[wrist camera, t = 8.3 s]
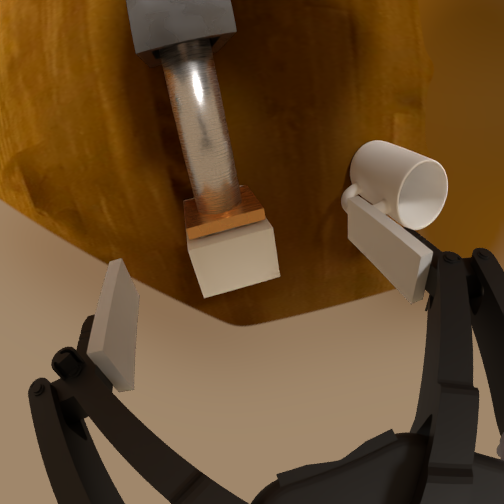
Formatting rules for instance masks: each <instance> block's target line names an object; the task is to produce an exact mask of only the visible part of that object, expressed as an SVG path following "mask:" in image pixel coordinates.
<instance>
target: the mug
mask: <svg viewBox="0 0 504 504" xmlns="http://www.w3.org/2000/svg"><path fill="white" fill-rule="evenodd" d="M350 179H351V183H352V185H351V186H349V187H348V188H347V189H346V190H345V191H344V193H343V194H342V197H341V205H342V208H343V209H344V211H345V212H346V213H347V214H348V202H347V198H350V197H355V196H356V195H358V194H359V195H361V196H362V197H363V198H365V199H366V200H367V201H369V202H370V203H372V204H373V205H372V206H374V207H375V208H377V209H378V210H379V211H381V212H382V213H384V214H388V215H389V216H390V217H392V218H393V219H395V220H396V221H397V222H399V223H400V224H401V225H403V226H404V227H407V228H410V229H412V230H419V229H422V228H424V227H426V226H428V225H429V224H431V222H433V221H434V219H436V217H437V216H438V214H439V213H440V212H441V210H442V208H443V206H444V203H445V200H446V196H447V191H448V181H447V175H446V172H445V170H444V168H443V167H442V166H441V165H440V164H439V163H438V162H437V161H435V160H433V159H430V158H428V157H425V156H423V155H420V154H418V153H415V152H413V151H410V150H408V149H405V148H402V147H400V146H397V145H394V144H391V143H388V142H385V141H378V140H376V141H370V142H368V143H366V144H364V145H363V146H362V147H361V148H360V149H359V150H358V151H357V152H356V154H355V155H354V157H353V159H352V162H351V166H350Z"/></svg>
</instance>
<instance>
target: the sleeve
mask: <svg viewBox="0 0 504 504" xmlns="http://www.w3.org/2000/svg"><path fill="white" fill-rule="evenodd" d="M126 3H127V9H128V15H129V21H130V26H131V31H132V37H133V42H134V47H135V52H136V54H137V55H138V56H139V57H140V58H141V59H142V60H143V61H144V62H145V63H146V64H147V65H148V66H149V67H150V68H152V67H155V66H159V65H162V61H161V56H160V51H159V49H163V48H166V47H170V46H175V45H179V44H183V43H188V42H192V41H197V40H202V39H208V38H209V39H210V44H211V49H212V53H216V52H218V51H219V50H220V48H221V47H222V46H223V45H224V44H225V43H226V42H227V41H228V40H229V39H230V38H231V37H232V36H233V35H234V34H235V33H236V32H237V29H236V24H235V19H234V14H233V9H232V5H231V0H126Z"/></svg>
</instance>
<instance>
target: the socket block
mask: <svg viewBox="0 0 504 504" xmlns="http://www.w3.org/2000/svg"><path fill="white" fill-rule="evenodd" d="M241 186H243V185H241ZM191 199H193V198H191ZM188 200H190V199H188ZM184 201H186V200H184ZM184 201H183V202H184ZM184 214H185V212H184ZM265 218H266V217H265ZM185 226H186V223H185ZM186 236H187V246H188V252H189V255H190V259H191V262H192V265H193V267H194V270H195V273H196V276H197V279H198V282H199V285H200V288H201V291H202V294H203V296H204V298H207V297H210V296H214V295H218V294H221V293H225V292H228V291H232V290H235V289H239V288H243V287H246V286H250V285H253V284H257V283H260V282H263V281H267V280H270V279H274V278H277V277H280V272H279V265H278V258H277V251H276V245H275V238H274V231H273V227H272V226H271V224H270V223H269V221H268V220H267V218H266V219H265V220H261V221H257V222H253V223H250V224H247V226H243V227H240V228H236V229H232V230H228V231H225V232H221V233H217V234H214V235H210V236H206V237H205V236H201V237H198V238H194V239H191V240H189V237H188V234H187V231H186Z"/></svg>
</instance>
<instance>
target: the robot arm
mask: <svg viewBox="0 0 504 504" xmlns="http://www.w3.org/2000/svg"><path fill="white" fill-rule="evenodd" d="M347 202H348V239H349V240H350V241H351V242H352V243H353V244H354V245H355V246H356V247H357V248H358V249H359V250H360V251H361V252H362V253H363V254H364V255H365V256H366V257H367V258H368V259H369V260H370V261H371V262H372V263H373V264H374V265H375V266H376V267H377V268H378V269H379V270H380V272H381V273H382V274H383V275H384V276H385V277H386V278H387V279H388V280H389V281H390V282H391V283H392V284H393V285H394V286H395V287H396V288H397V290H398V291H399V292H400V293H401V294H402V295H403V296H404V297H405V298H406V299H407V300H408V302H409V303H410V304H412V303H415V302H417V301H419V300H422V299H423V296H424V291H425V290H426V291H427V292H428V293H429V294H430V295H429V298H428V302H427V305H426V309H425V311H427V310H428V318H427V319H428V320H427V334H426V347H425V357H424V366H423V374H422V381H421V388H420V395H419V401H418V406H417V412H416V417H415V420H414V423H413V425H412V427H411V430H410V433H397V434H394V432H393V430H392V429H391V430H388V431H387V432H384V433H382V434H380V435H378V436H376V437H374V438H372V439H370V440H368V441H366V442H365V443H363V444H362V445H361V446H359V447H358V448H357V449H355V450H354V451H353V452H351V453H350V454H349V455H347V456H346V457H345V458H343V459H341V460H339V461H334V462H327V463H319V464H311V465H305V466H302V467H299V468H296V469H293V470H289V471H286V472H282V473H279V474H277V477H278V479H277V480H276V481H274V482H272V483H270V484H269V485H268V486H266V487H265V488H264V489H263V490H262V491H260V493H259V494H258V495H257V496H256V497H255V499H254V500H253V501H252V503H251V504H504V271H503V269H502V268H501V266H500V264H499V263H498V261H497V259H496V258H495V256H494V255H493V254H492V253H491V252H490V251H489V250H487V249H484V248H476V249H474V250H473V253H472V257H471V258H461V257H460V256H459V255H458V254H456V253H454V252H450V251H449V252H447V251H445V252H441V251H440V250H439V249H437V248H436V247H435V246H434V245H433V244H431V243H430V242H429V241H427V240H426V239H425V238H423V237H422V236H421V235H420V234H418V233H417V232H416V231H414V230H412V229H410V228H407V227H404V228H402V227H401V226H400V225H398V224H397V223H396V222H394V221H393V220H392V219H390V218H389V217H388V216H386V215H385V214H384V213H382V212H381V211H379V210H378V209H377V208H375V207H374V206H372V205H371V204H370V203H368V202H367V201H365V200H364V199H363V198H361V197H360V196H355V197H350V198H347ZM139 298H140V296H139V294H138V292H137V290H136V288H135V286H134V283H133V281H132V279H131V277H130V275H129V273H128V271H127V268H126V266H125V264H124V262H123V260H122V258H120V259H117V260H113V261H110V262H109V265H108V269H107V272H106V276H105V279H104V283H103V286H102V290H101V293H100V297H99V302H98V305H97V309H96V313H95V315H91V316H88V317H87V319H86V320H85V322H84V323H83V325H82V330H81V334H80V337H79V341H78V346H77V350H75V349H74V348H73V347H65V348H62V349H61V350H59V351H58V352H57V353H56V354H55V356H54V357H53V359H52V364H51V365H52V368H53V370H54V371H55V372H56V373H57V374H58V375H59V376H60V379H58V380H57V381H54V382H52V383H50V382H49V381H48V380H47V379H46V378H39V379H37V380H35V381H34V382H33V383H32V384H31V386H30V388H29V391H28V397H29V403H30V408H31V414H32V419H33V423H34V428H35V432H36V436H37V440H38V444H39V448H40V452H41V455H42V459H43V461H44V465H45V468H46V472H47V475H48V477H49V480H50V483H51V486H52V489H53V492H54V494H55V497H56V499H57V502H58V504H125V503H124V501H123V500H122V498H121V496H120V495H119V493H118V491H117V489H116V487H115V486H114V484H113V482H112V480H111V478H110V476H109V474H108V472H107V470H106V468H105V466H104V464H103V462H102V460H101V458H100V456H99V454H98V451H97V449H96V447H95V445H94V443H93V440H92V438H91V435H90V433H89V431H88V428H87V426H86V423H85V421H84V418H86V417H88V416H89V417H90V418H91V420H92V421H93V422H94V423H95V425H96V426H97V427H98V428H99V430H100V431H101V432H102V433H103V434H104V436H105V437H106V438H107V439H108V440H109V442H110V443H111V444H112V445H113V446H114V447H115V448H116V450H117V451H118V452H119V453H120V454H121V455H122V456H123V457H124V458H125V459H126V460H127V461H128V462H129V463H130V465H131V466H132V467H134V469H135V470H136V471H137V472H139V474H140V475H141V476H142V477H143V478H144V479H145V480H146V481H147V482H149V483H150V484H151V485H152V486H153V487H154V488H155V489H156V490H157V491H158V492H160V494H162V495H163V496H164V497H165V498H166V499H167V500H169V502H170V503H171V504H248V503H247V502H245V501H243V500H242V499H240V498H239V497H237V496H235V495H234V494H232V493H231V492H229V491H228V490H226V489H225V488H223V487H222V486H220V485H219V484H217V483H216V482H215V481H213V480H212V479H210V478H209V477H207V476H206V475H205V474H203V473H202V472H200V471H199V470H198V469H196V468H195V467H194V466H192V465H191V464H190V463H189V462H187V461H186V460H185V459H183V458H182V457H181V456H179V455H178V454H177V453H176V452H175V451H174V450H172V449H171V448H170V447H169V446H168V445H166V444H165V443H164V442H163V441H162V440H161V439H159V438H158V437H157V436H156V435H155V434H154V433H153V432H152V431H151V430H149V429H148V428H147V427H146V426H145V425H144V424H143V423H142V422H141V421H140V420H138V418H137V417H135V415H134V414H132V413H131V412H130V411H129V410H128V409H127V408H126V407H125V406H124V405H123V404H122V403H121V401H120V400H118V398H117V397H116V396H115V395H114V394H113V393H112V388H113V386H114V387H115V388H116V389H117V390H118V392H123V391H129V390H134V367H135V349H136V333H137V320H138V309H139ZM471 325H472V326H471ZM472 328H473V331H474V334H475V337H476V340H477V343H478V347H479V350H480V353H481V357H482V360H483V364H484V368H485V372H486V375H487V380H488V384H489V388H490V393H491V397H492V402H493V407H494V413H495V417H496V422H497V425H498V429H499V432H500V435H501V439H500V444H499V446H498V447H497V454H498V456H500V457H501V460H500V459H496V458H493V457H489V456H486V455H482V454H479V453H476V452H474V451H475V442H476V435H477V424H478V409H479V390H478V388H475V387H474V386H473V345H472V344H473V343H472Z"/></svg>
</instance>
